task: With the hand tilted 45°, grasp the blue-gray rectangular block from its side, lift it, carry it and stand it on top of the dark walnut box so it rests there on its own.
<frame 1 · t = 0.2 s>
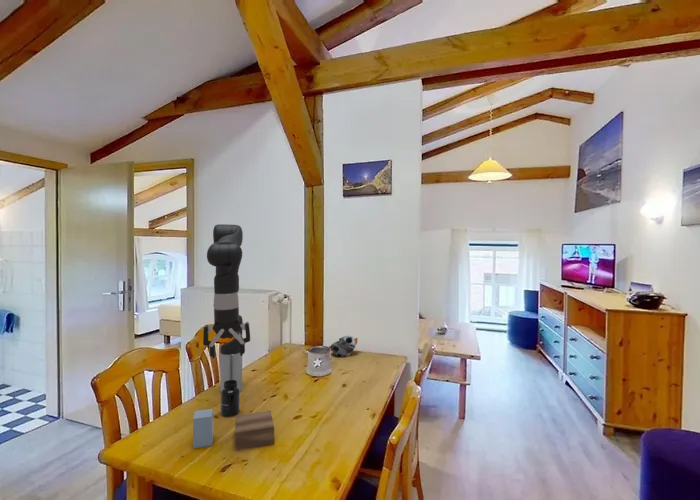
hand: (227, 356, 117), 29 cm above the table, tool pointing down, fingers open, 8 cm apart
walnut box: (254, 438, 122), on the table
blue-gray rectangular block: (203, 442, 119), on the table
supplement bottle: (230, 413, 140), on the table
grey toy figure: (343, 354, 213), on the table
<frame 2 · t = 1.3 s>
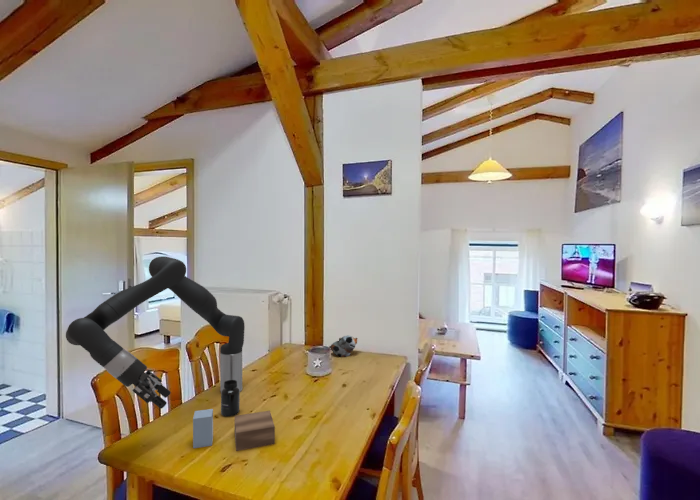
hand: (166, 400, 115), 15 cm above the table, tool tilted 45°, fingers open, 8 cm apart
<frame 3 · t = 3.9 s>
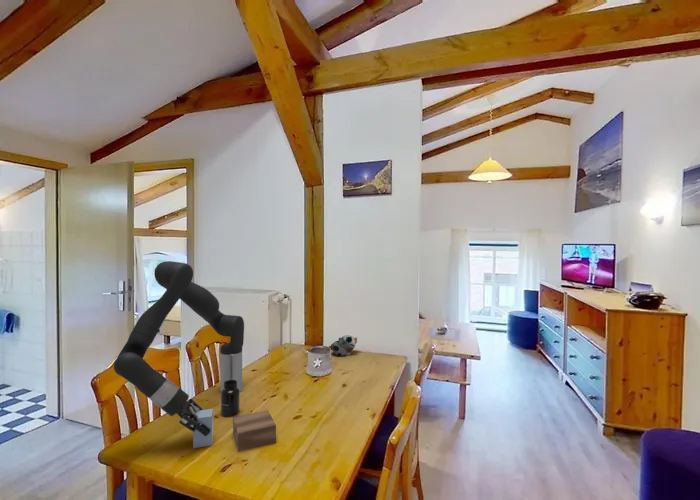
hand: (209, 428, 120), 4 cm above the table, tool tilted 45°, fingers closed on blue-gray rectangular block, 5 cm apart
blue-gray rectangular block: (203, 442, 119), on the table, touching gripper
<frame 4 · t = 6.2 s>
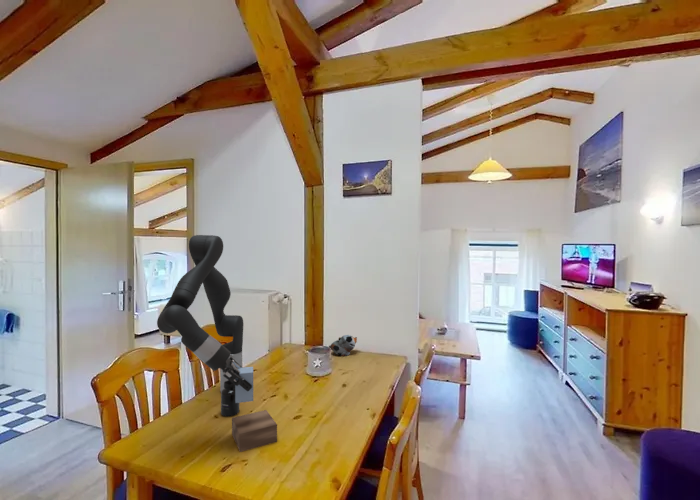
hand: (250, 385, 121), 18 cm above the table, tool tilted 45°, fingers closed on blue-gray rectangular block, 5 cm apart
blue-gray rectangular block: (244, 398, 121), point 14 cm above the table, touching gripper
when the fingers open (11 cm above the table, at t = 8.5 s): blue-gray rectangular block drops 1 cm, point 6 cm above the table.
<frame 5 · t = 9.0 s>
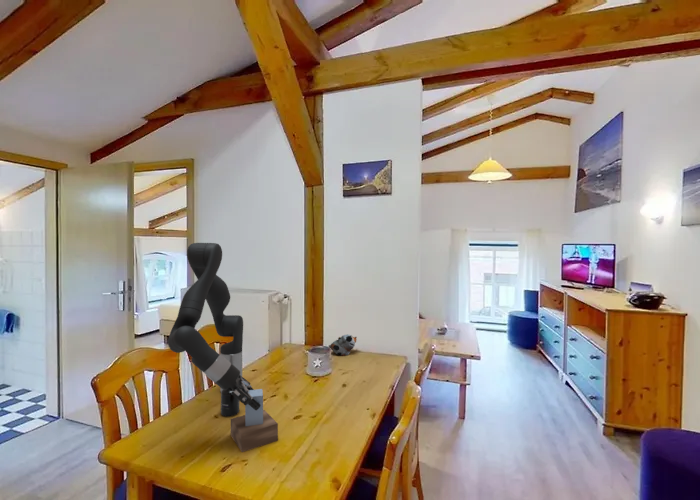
hand: (258, 402, 122), 12 cm above the table, tool tilted 45°, fingers open, 8 cm apart
blue-gray rectangular block: (254, 421, 122), point 6 cm above the table
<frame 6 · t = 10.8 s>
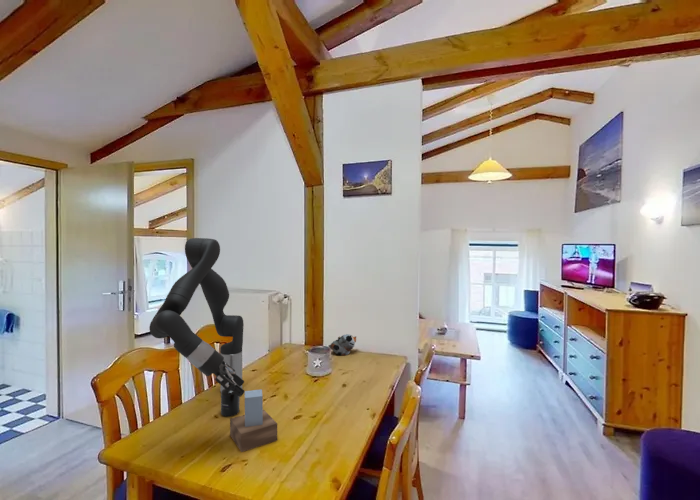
hand: (242, 388, 120), 17 cm above the table, tool tilted 45°, fingers open, 8 cm apart
walnut box: (253, 438, 122), on the table, touching blue-gray rectangular block
blue-gray rectangular block: (253, 421, 121), point 6 cm above the table, touching walnut box
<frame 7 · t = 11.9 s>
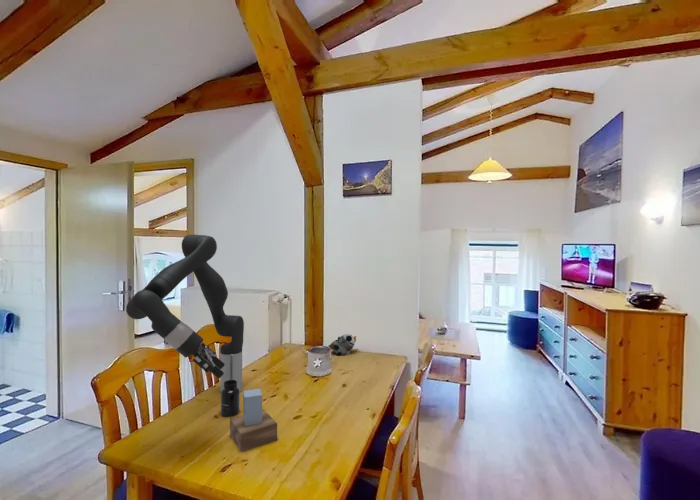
hand: (222, 371, 119), 23 cm above the table, tool tilted 45°, fingers open, 8 cm apart
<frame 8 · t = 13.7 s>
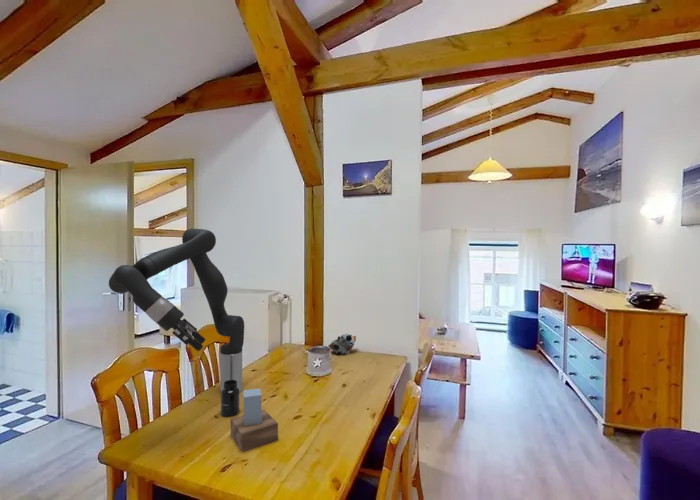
hand: (202, 345, 123), 31 cm above the table, tool tilted 45°, fingers open, 8 cm apart
at the end: blue-gray rectangular block inside the target area on the walnut box (0.4 cm from its centre), point 6.0 cm above the walnut box's base; blue-gray rectangular block tilted 1°; the gripper is holding nothing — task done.
